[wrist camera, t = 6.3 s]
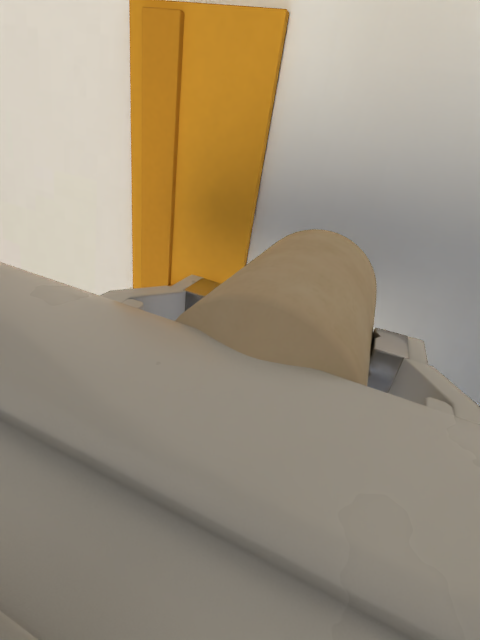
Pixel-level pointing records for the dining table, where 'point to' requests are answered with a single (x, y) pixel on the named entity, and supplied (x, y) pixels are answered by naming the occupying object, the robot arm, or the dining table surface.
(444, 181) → the dining table surface
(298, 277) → the candle
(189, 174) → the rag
